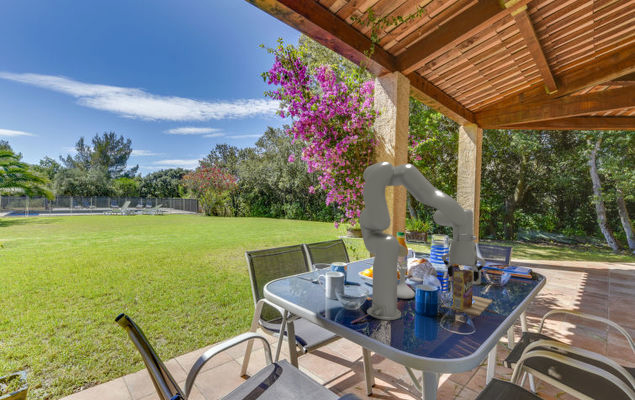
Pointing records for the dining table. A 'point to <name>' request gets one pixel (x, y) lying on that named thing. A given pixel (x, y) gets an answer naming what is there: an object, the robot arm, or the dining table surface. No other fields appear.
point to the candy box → (463, 289)
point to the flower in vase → (403, 278)
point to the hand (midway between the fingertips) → (462, 278)
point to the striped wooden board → (475, 306)
